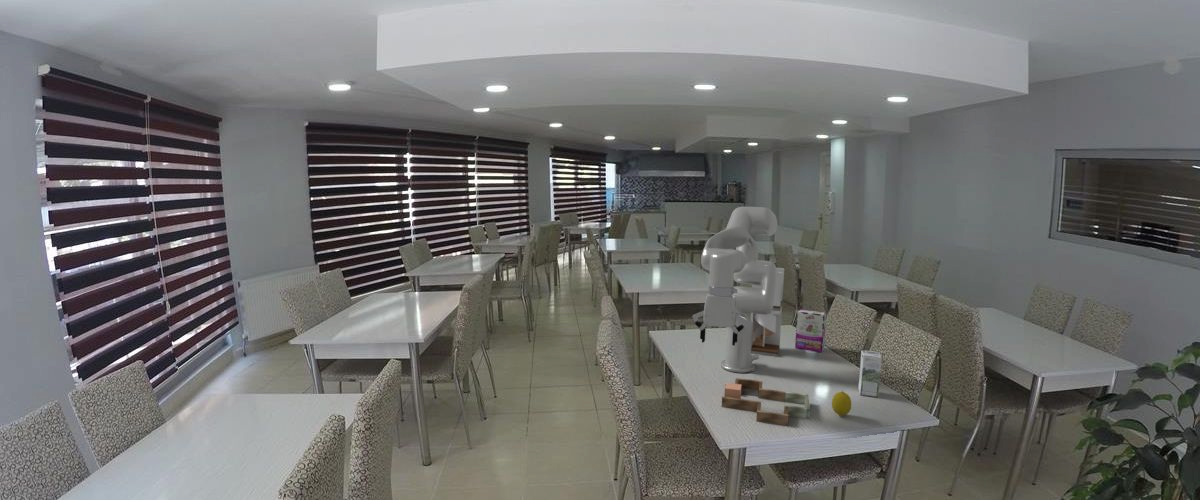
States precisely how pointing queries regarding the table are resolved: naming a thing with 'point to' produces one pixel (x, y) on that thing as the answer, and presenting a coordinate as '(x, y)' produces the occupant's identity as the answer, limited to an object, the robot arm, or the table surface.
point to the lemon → (841, 403)
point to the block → (733, 390)
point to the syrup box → (869, 373)
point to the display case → (768, 323)
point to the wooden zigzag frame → (752, 389)
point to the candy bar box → (810, 330)
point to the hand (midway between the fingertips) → (718, 342)
